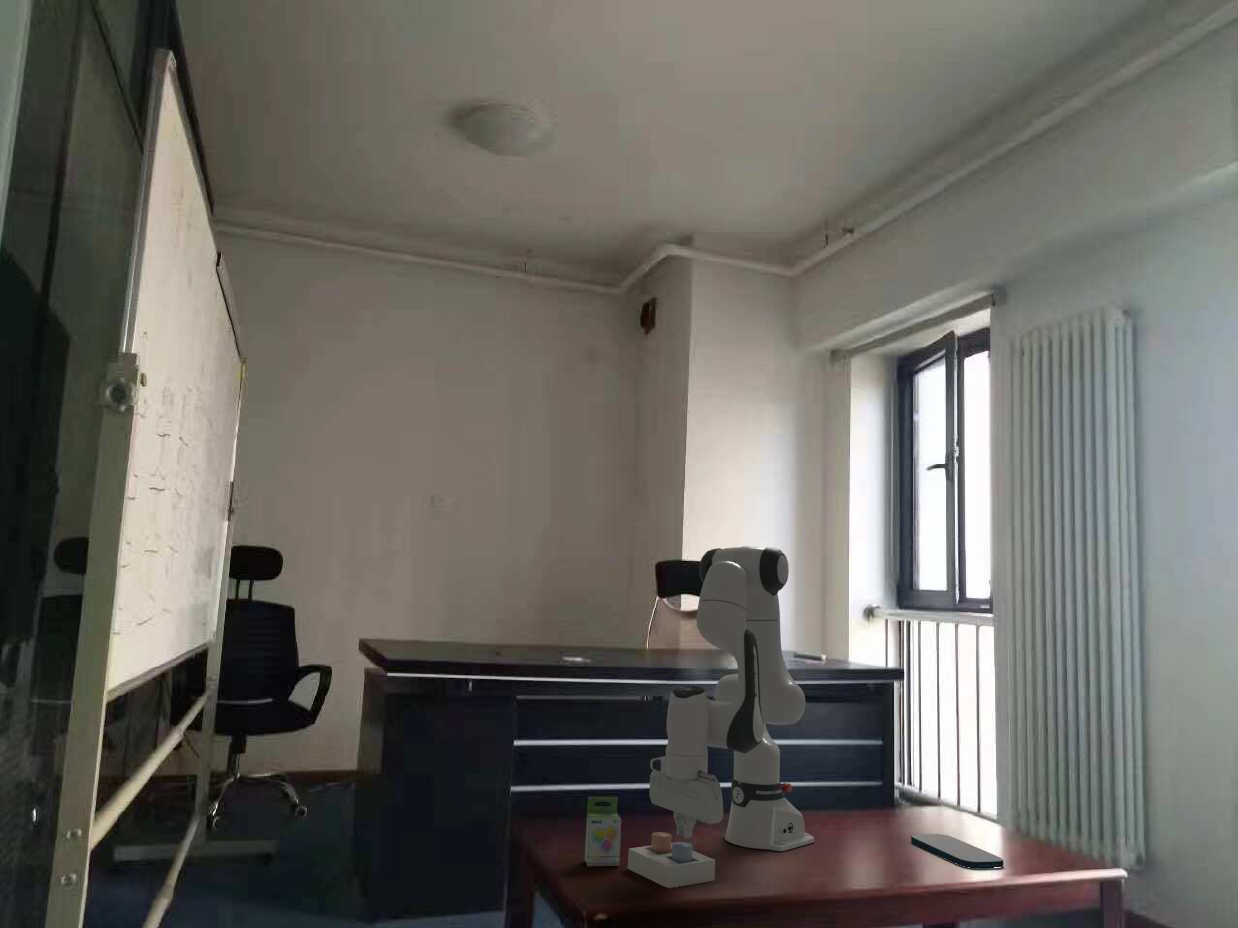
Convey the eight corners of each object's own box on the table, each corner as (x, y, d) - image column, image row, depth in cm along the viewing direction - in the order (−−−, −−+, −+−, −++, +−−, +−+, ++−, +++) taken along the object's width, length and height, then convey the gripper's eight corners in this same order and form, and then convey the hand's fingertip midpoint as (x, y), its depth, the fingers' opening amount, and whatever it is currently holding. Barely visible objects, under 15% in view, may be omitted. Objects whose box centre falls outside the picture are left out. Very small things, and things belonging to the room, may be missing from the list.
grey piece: (683, 861, 184) (683, 840, 185) (696, 866, 181) (696, 846, 181) (667, 863, 182) (668, 843, 182) (679, 869, 178) (680, 848, 179)
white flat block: (672, 861, 193) (673, 842, 193) (714, 880, 181) (715, 859, 182) (627, 868, 186) (628, 848, 187) (668, 888, 174) (669, 866, 175)
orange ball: (662, 850, 190) (663, 831, 190) (674, 856, 186) (675, 836, 187) (647, 853, 187) (648, 833, 188) (659, 858, 184) (659, 838, 185)
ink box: (587, 867, 186) (590, 800, 188) (583, 861, 189) (587, 796, 191) (619, 866, 187) (622, 800, 189) (615, 861, 191) (618, 796, 193)
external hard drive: (905, 842, 221) (905, 834, 221) (945, 841, 224) (945, 833, 225) (967, 871, 199) (967, 862, 199) (1010, 870, 202) (1010, 860, 202)
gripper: (731, 775, 177) (729, 847, 176) (668, 756, 194) (666, 822, 192) (707, 777, 174) (705, 851, 172) (645, 759, 191) (643, 826, 189)
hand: (684, 836), depth 182 cm, fingers closed
